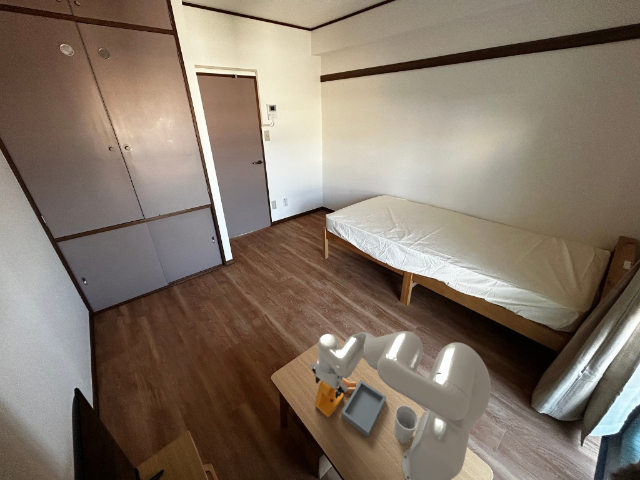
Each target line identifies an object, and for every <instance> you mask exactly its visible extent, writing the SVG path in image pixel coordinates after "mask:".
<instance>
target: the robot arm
mask: <svg viewBox="0 0 640 480" xmlns="http://www.w3.org/2000/svg"><path fill="white" fill-rule="evenodd" d="M423 355H424V346H423V342H422V339H420V337H419V336H418V334H415V333H414V332H412V331H408V330H405V331H404V330H401V331H397V332H393V333H389V334H385V335H381V336H377V337H376V336H375V335H373V334H371V333H368V332H365V331H361V332H358V333H355V334H352V335H350V336H349V337H348V338H347V339H346V340H345V342H343V344H342V345H341V346H340V341H339V339H338V337H337V336H336V335H334V334H332V333H324V334H322V335H321V336H320V337H319V339H318V341H317V357H318V358H317V361H316V363H315V362H311V363H310V368H311V371H312V372H313V376H314V377H315V384H319V382H320V381H321V382H322V381H323V382H325V383H326V384H327V385H329V386H330V387H332V388H333V389H335V390H336V392H335V397H336V398H338V396H339V397H340V395H341V393H343V394H344V393H346V391H347V390H348V387H347V386H346V385H345V384H344V383H343V378H345V379H347V378H349V377H350V376H351V375H352V374H353V372H354V371H355V369H356V368H357V366H358V365H359V363H360V361H361V359H363V357H364V358H365V362H367V364H368V365H369V367H371V368H372V369H373V370H376V372H377V374H378V376H379V378H380V379H381V381H382V382H383V383H384V384H385V385H387V386H388V387H389V388H391V389H392V390H394V391H395V392H396V393H399V394H400V395H402V396H403V397H406V398H407V399H410V400H411V401H412V402H413V401H414V403H416V404H418V405H420V406H421V407H424V408H425V409H427V410H425V411H424V412H423V413H422V415H421V416H420V419H419V423H418V426H417V428H416V429H415V435H414V437H413V440H412V443H411V445H410V447H409V448H407V449H406V450H405V451H404V453H403V455H402V458H401V469H402V470H401V471H402V473H403V476H404V479H405V480H453V479H455V477H457V476H458V475H459V474H460V473H461V471H462V469H463V467H464V464H465V459H466V454H467V449H468V444H469V437H470V433H471V430H472V429H473V427H474V426H475V425H476V424H477V423H478V422H479V421H480V419H481V418H482V417H483V416H484V413H486V410H487V409H488V405H489V403H490V398H491V391H492V390H491V389H492V388H491V386H492V385H491V377H490V374H489V371H488V368H487V365H486V364H485V363H484V361H483V359H482V357H481V356H480V355H479V354H478V353H477V352H476V351H475V349H473V348H472V347H471V346H469V345H468V344H465V343H463V342H450V343H449V344H447V345H445V346H444V347H443V348H442V349H441V350H440V351H439V352H438V354H437V356H436V357H435V360H434V363H433V364H432V365H433V366H432V368H431V370H430V374H429V377H428V378H427V377H426V376H424V375H423V376H422V375H420V374H418V373H417V370H418V367H419V365H420V364H421V361H422V358H423ZM347 392H348V391H347Z"/></svg>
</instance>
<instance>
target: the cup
mask: <svg viewBox="0 0 640 480" xmlns="http://www.w3.org/2000/svg"><path fill="white" fill-rule="evenodd" d="M394 412H395V413H394V414H395V415H394V428H393V434H394V437H395V438H396V439H397V440H398V441H399V442H400V443H402V444H407V443H409V442H410V441H411V439H412V436H413V434H414V432H416V430H417V427H418V425H419V422H420V419H419V417H418V416H419V415H418V414H417V412H416V411H415V410H414V409H413V408H412V406H409V405H406V404H405V405H404V404H401V405H399V406H397V408H396V409H395V411H394Z"/></svg>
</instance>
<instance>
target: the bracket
mask: <svg viewBox="0 0 640 480" xmlns="http://www.w3.org/2000/svg"><path fill="white" fill-rule="evenodd" d="M335 392H336V390H335V389H333V388H332V387H330V386H329V385H327V384H326V383H325V382H323V381H322V380H321V382H320V383H319V385H318V389H317V393H316V396H315V401H314V406H315V407H316V408H317V409H318V410H319V411H320V412H321V413H322V414H323V415H325V416H326V417H327V418H328V417H330V416H331V415H332V414H333V413H334V412H335V410H336V409H338V407H339V405H340V404H341V403H342V401H343V399H344V393H341V395H340V397H339V396H338V398H336V397H335Z"/></svg>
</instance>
